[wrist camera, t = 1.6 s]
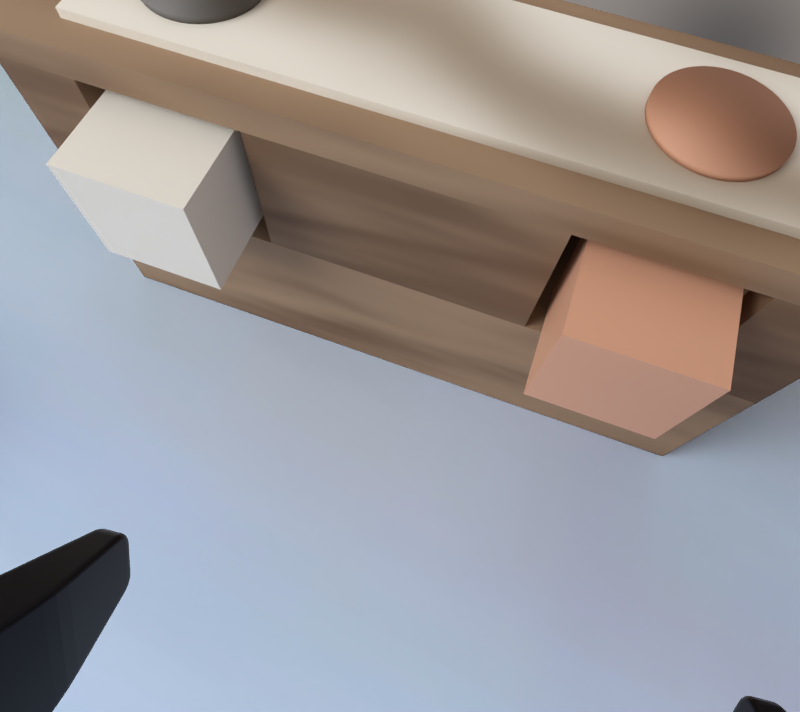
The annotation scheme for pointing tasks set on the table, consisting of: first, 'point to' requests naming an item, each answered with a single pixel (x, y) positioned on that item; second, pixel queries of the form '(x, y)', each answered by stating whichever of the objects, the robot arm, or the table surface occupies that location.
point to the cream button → (161, 186)
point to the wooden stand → (458, 166)
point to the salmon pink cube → (635, 340)
